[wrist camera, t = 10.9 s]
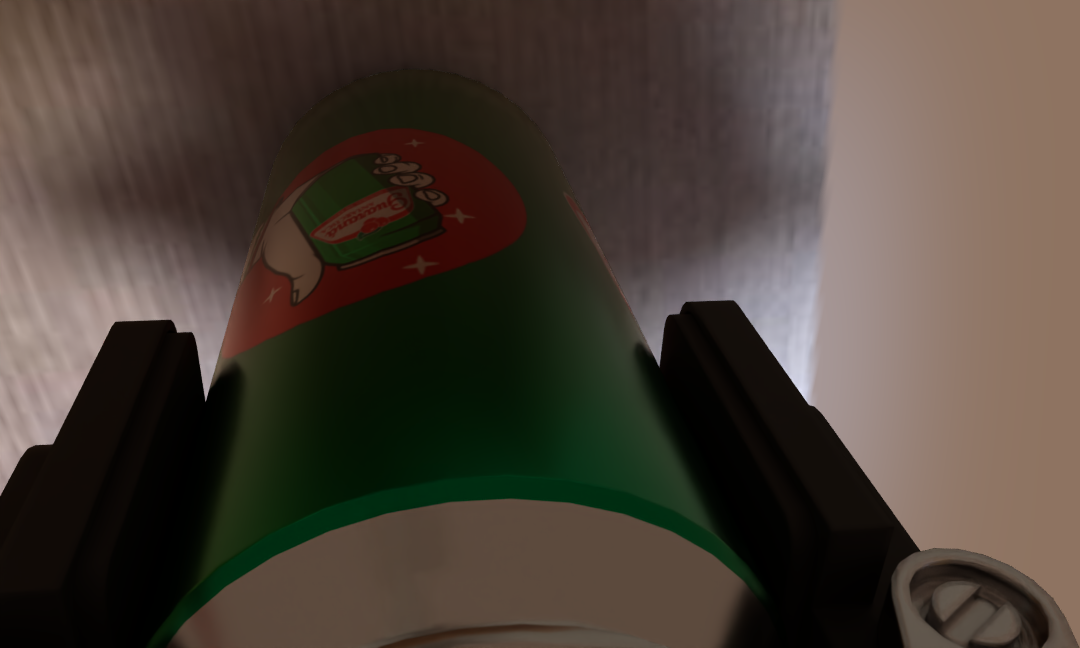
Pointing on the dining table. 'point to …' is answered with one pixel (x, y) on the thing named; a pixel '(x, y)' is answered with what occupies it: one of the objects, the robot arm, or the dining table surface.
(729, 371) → the robot arm
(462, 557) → the soda can
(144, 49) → the dining table surface
